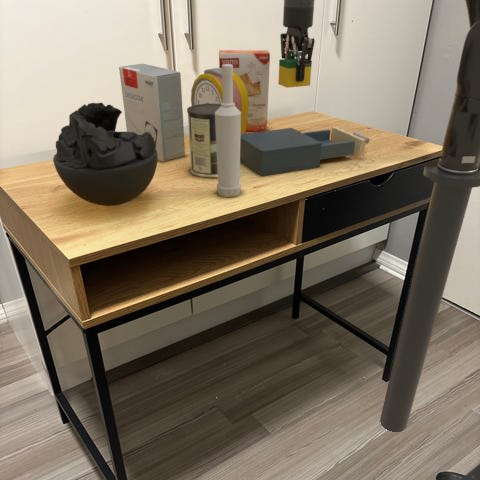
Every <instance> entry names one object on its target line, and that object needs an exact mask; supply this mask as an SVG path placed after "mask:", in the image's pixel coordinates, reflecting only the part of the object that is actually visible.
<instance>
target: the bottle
mask: <svg viewBox="0 0 480 480" xmlns="http://www.w3.org/2000/svg"><path fill="white" fill-rule="evenodd" d="M222 79H223V103H221V107H220V108H219V109H218V110H217V111H216V112H215V126H216V148H217V169H218V177H217V183H216V191H217V194H218V195H219V196H220V197H222V198H223V197H224V198H234V197H237V196H239V195H240V194H241V189H242V184H241V183H240V179H241V161H240V137H241V112H240V111H239V110H238V109H237V108H236V107H235V104H234V103H233V65H231V64H224V65H222Z"/></svg>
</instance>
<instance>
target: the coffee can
mask: <svg viewBox="0 0 480 480" xmlns="http://www.w3.org/2000/svg"><path fill="white" fill-rule="evenodd" d="M220 107H221V104H199V105H193V106H192V105H191V106H189V107H187V109H186V113H187V120H188V122H187V124H188V139H189V140H188V141H189V155H190V172H191V174H193V175H194V176H197V177H201V178H218V169H217V148H216V126H215V112H216V111H217V110H218V109H219V108H220Z"/></svg>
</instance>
